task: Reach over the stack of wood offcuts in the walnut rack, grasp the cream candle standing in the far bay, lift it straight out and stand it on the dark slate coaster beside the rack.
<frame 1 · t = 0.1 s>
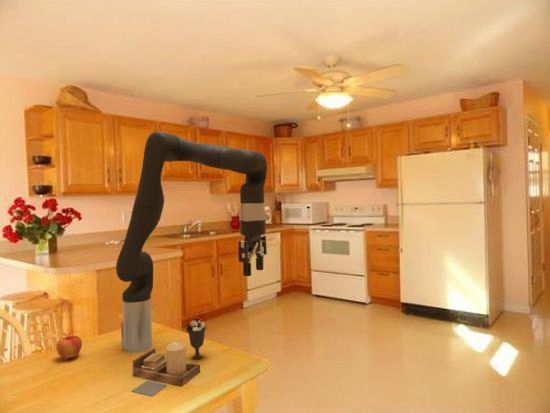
hand: (253, 272, 113), 29 cm above the table, tool pointing down, fingers open, 8 cm apart
apple: (69, 358, 125), on the table
rack: (166, 375, 112), on the table
offcut lower: (154, 371, 113), resting on rack, touching offcut upper
coaster: (149, 389, 103), on the table
candle: (176, 376, 110), resting on rack
sundae: (197, 359, 122), on the table
offcut upper: (154, 363, 113), point 3 cm above the table, touching offcut lower
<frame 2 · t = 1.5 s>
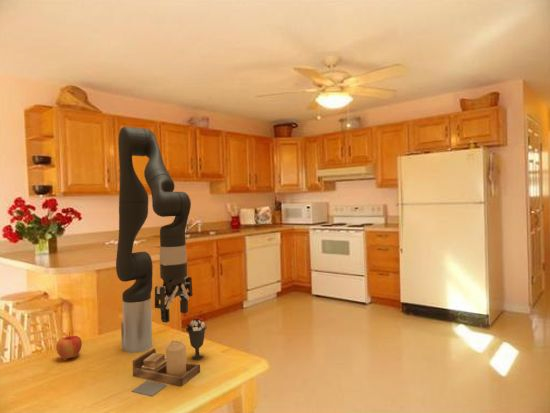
hand: (175, 317, 110), 18 cm above the table, tool pointing down, fingers open, 8 cm apart
nothing on the table moved.
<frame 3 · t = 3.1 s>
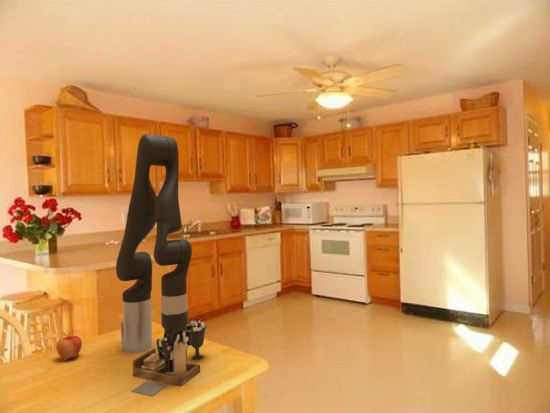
hand: (176, 366, 110), 3 cm above the table, tool pointing down, fingers closed on candle, 5 cm apart
candle: (176, 376, 110), resting on rack, touching gripper
everything else where it was.
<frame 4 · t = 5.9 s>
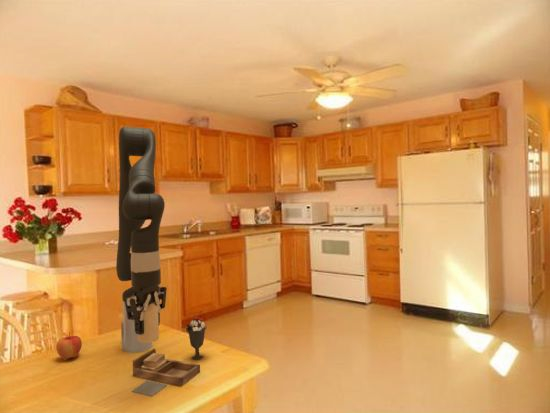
hand: (147, 329, 103), 17 cm above the table, tool pointing down, fingers closed on candle, 5 cm apart
candle: (148, 340, 103), point 14 cm above the table, touching gripper
everything else where it was.
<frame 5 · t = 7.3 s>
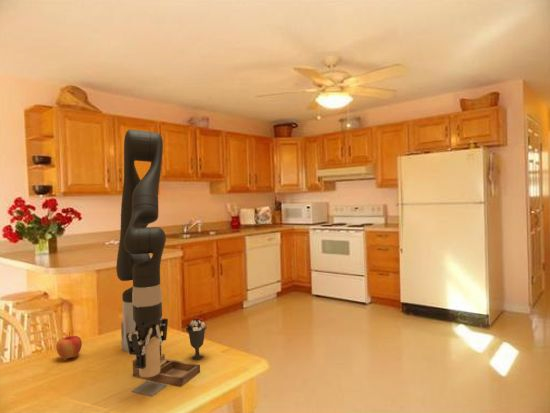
hand: (149, 362, 103), 7 cm above the table, tool pointing down, fingers closed on candle, 5 cm apart
candle: (149, 373, 103), point 5 cm above the table, touching gripper
everything else where it was.
when the fingers open (4 cm above the table, at t = 8.5 s): candle drops 1 cm, resting on coaster.
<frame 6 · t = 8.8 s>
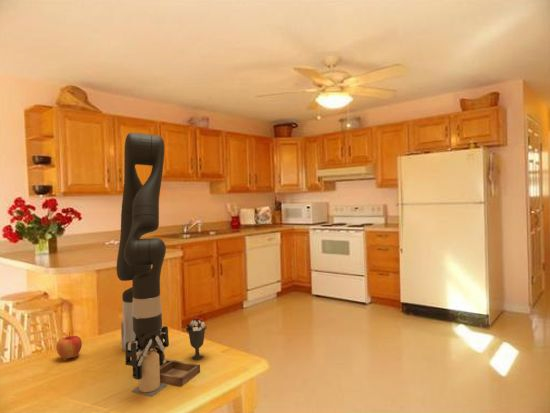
hand: (149, 371, 103), 5 cm above the table, tool pointing down, fingers open, 8 cm apart
candle: (149, 388, 103), resting on coaster
everything else where it was.
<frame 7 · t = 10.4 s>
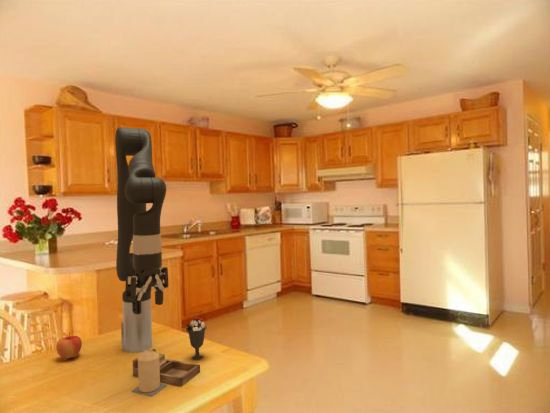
hand: (148, 309, 105), 22 cm above the table, tool pointing down, fingers open, 8 cm apart
nothing on the table moved.
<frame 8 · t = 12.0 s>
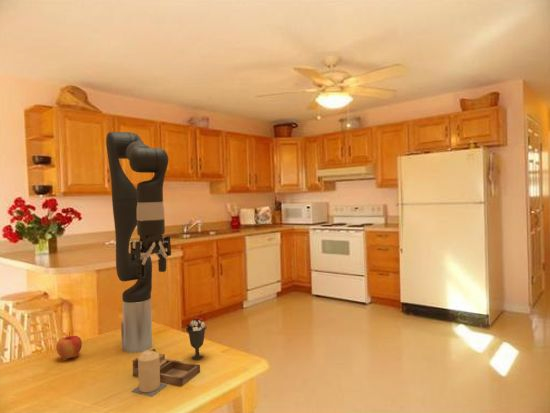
hand: (152, 274, 109), 30 cm above the table, tool pointing down, fingers open, 8 cm apart
nothing on the table moved.
at the end: candle 0.1 cm from the coaster (horizontally); candle tilted 0°; candle resting on coaster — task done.
